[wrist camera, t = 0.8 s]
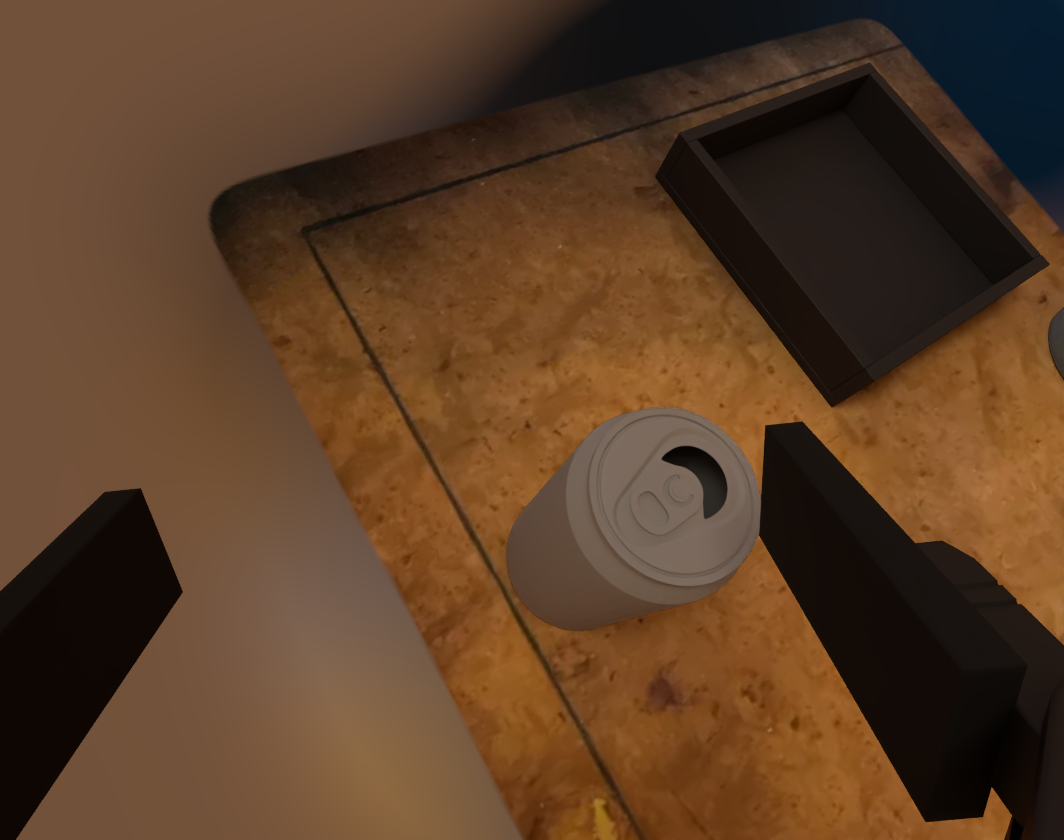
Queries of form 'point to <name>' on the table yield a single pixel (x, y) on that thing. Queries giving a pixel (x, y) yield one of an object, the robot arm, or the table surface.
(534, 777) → the table surface
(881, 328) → the tray
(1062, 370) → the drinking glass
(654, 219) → the table surface
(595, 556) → the beverage can
